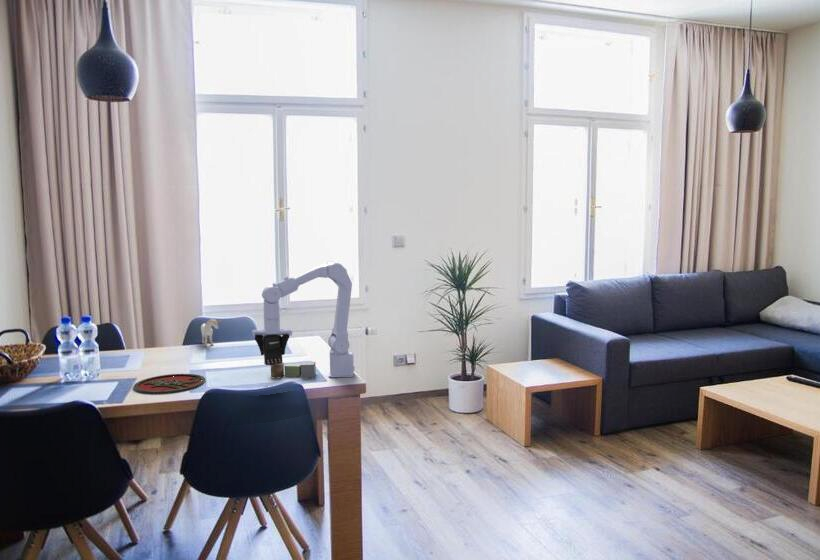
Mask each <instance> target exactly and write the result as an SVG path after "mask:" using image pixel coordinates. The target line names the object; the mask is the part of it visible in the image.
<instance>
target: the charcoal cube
mask: <svg viewBox="0 0 820 560" xmlns="http://www.w3.org/2000/svg"><path fill="white" fill-rule="evenodd" d="M300 364H301V375H300V376H301V377H300V378H315V377H314V376H316V373H317V371H316V369H317V366H316V361H302V362H301V363H300Z"/></svg>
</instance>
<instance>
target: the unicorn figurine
mask: <svg viewBox="0 0 820 560" xmlns="http://www.w3.org/2000/svg"><path fill="white" fill-rule="evenodd" d="M225 320H226V319H225V318H224V319H220V320H217V318H216V319H214V318H213V319H208V320H207V321H206V322H204V323H202V324H201V326H200V332H201V337H202V338H201V344H202V345H203V346H204V347H207V346H208V339H209V343H210V346H214V342H213V333H214V331H213V328H212V327H214V329H215V330H218V329H219V325H218V323H221V322H222V321H225Z"/></svg>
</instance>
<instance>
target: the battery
mask: <svg viewBox="0 0 820 560" xmlns="http://www.w3.org/2000/svg"><path fill="white" fill-rule="evenodd" d="M281 337H282V335H266V336H264V337H263V352H264V355H263V364H264V365H265V366H271V365H276V364H281V363H284V362H283V355H282V340H281Z"/></svg>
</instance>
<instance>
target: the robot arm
mask: <svg viewBox="0 0 820 560" xmlns="http://www.w3.org/2000/svg"><path fill="white" fill-rule="evenodd" d="M317 278H323V279H324V278H326V279H327V278H328V279H331V281H333V282H334V284H335V285H336V286H337V287H338V289H337V290H338V291H337V297H336V307H335V315H334V325H333V328H332V330H331V333H330V336H329V337H328V340H327V341H328V346H329V348H330V350H329V373H328V376H327V377H328V378H352V377H354V374H355V366H354V363H355V362H354V361H355V360H354V359H355V358H354V357H355V356H354V354H355V353H354V352H350V351H349V349H350V342H349V333H348V322H349V314H350V305H351V304H350V303H351V298H352V290H353V289H352V287H353V283H352V281H351V278H350V275H349V274H348V270H347V269H346V268H345V267H344V266H343V265H342V264H340V263H338V262H334V261H328V262H326V263H322V264H320V265H317V266H316V267H313V268H312V269H310V270H308V271H306V272H303V273H302V274H301V275H298V276H296V277H293V276H289V277H288V276H285V277H283V279H282V280H280V281H278V282H276V283H275V282H273V283H272V285H268V286H266V287H264V288H263V290H262V293H261V297H262V299H263V325H264V326H263V329H253V330H252V331H251V336H252V337H254V340H255V342H256V344H257V346H258V348H259V352H260V355H261V356H264V352H263V337H264V336H266V335H281V340H282V356H283V355H285V354H286V348H287V344H288V341H289V338H290V336H291V337H292V335H293V329H285V328H281V322H280V321H281V320H280V319H281V318H280V304H279V301H280V299H281V298H284V297H286V296H288V295H290V294H293V293H295V292H296V291H297V292H298V289H299V287H300V286H301V285H304V284H306V283H309V282H310V281H313V280H315V279H317ZM353 372H354V373H353Z"/></svg>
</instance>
